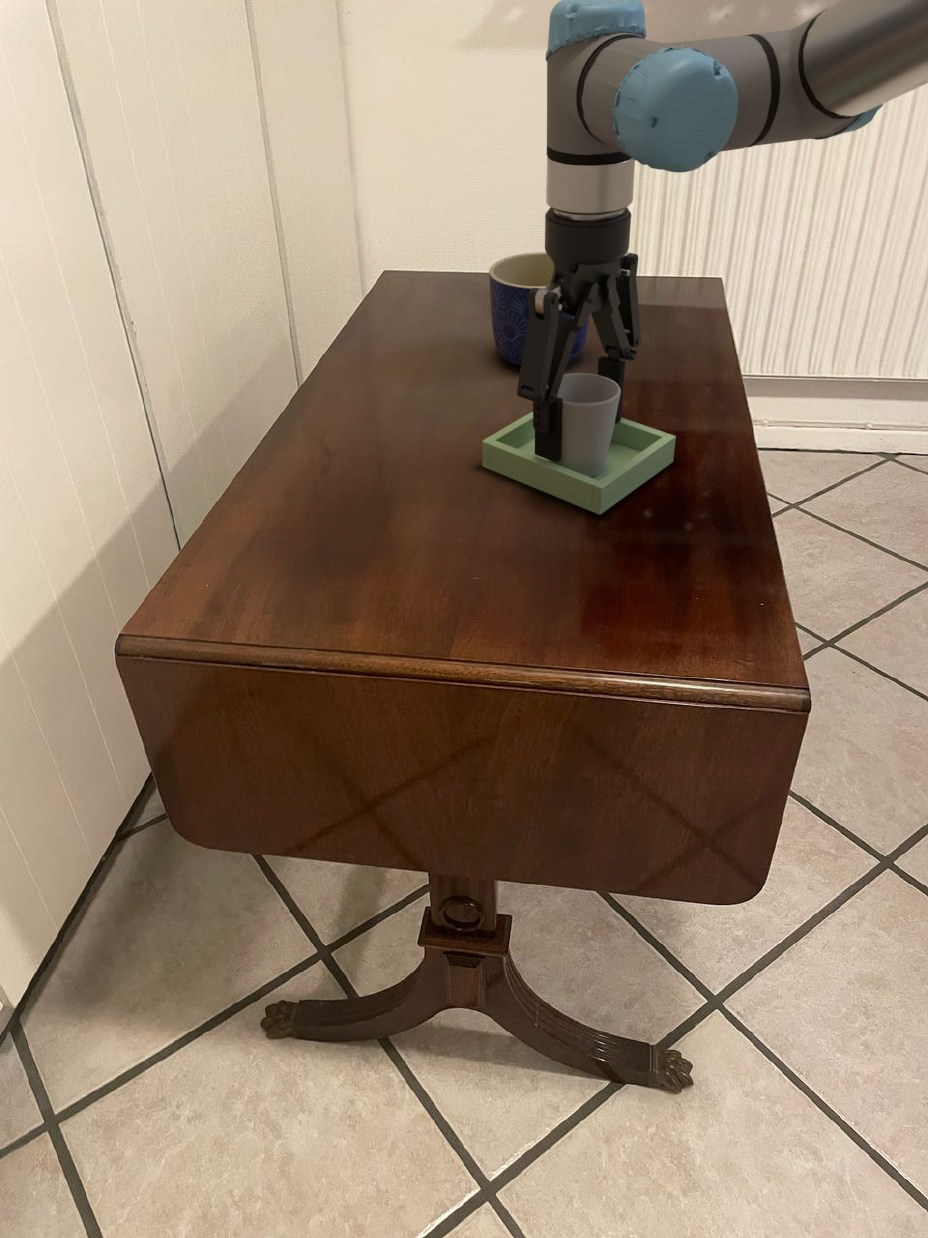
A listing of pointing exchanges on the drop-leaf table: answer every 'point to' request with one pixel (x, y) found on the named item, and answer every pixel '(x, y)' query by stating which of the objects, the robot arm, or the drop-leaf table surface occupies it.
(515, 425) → the tray
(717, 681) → the drop-leaf table surface
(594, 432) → the cup
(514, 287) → the planter
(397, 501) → the drop-leaf table surface
